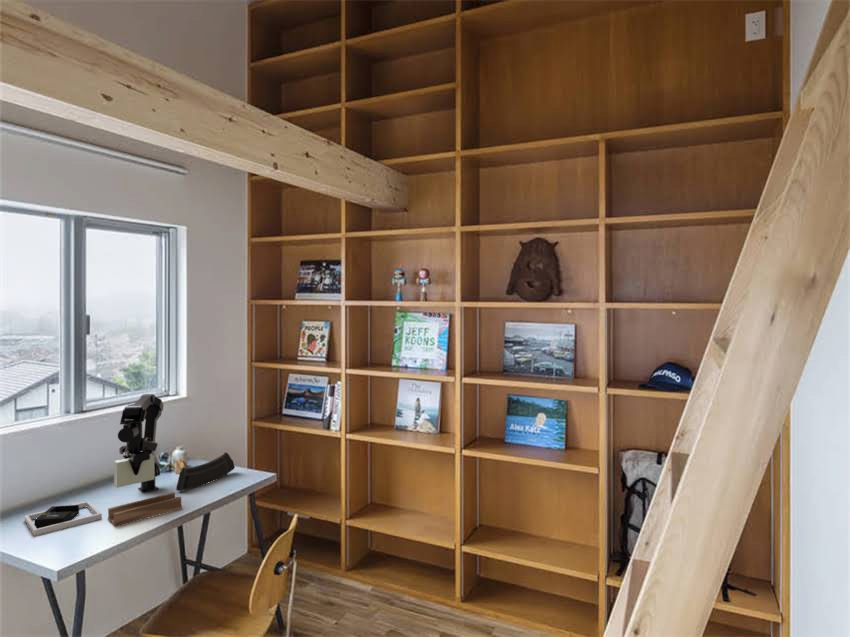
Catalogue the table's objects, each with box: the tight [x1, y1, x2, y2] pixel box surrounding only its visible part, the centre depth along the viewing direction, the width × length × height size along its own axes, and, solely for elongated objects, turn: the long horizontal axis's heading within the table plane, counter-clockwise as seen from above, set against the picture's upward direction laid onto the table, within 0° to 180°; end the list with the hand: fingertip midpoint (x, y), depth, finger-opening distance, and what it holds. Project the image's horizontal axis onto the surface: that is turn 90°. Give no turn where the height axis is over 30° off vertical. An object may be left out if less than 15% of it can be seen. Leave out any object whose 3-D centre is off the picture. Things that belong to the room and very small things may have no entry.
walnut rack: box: [107, 492, 183, 527], centre depth 205 cm, size 9×24×4 cm, turn 136°
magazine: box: [175, 451, 235, 492], centre depth 240 cm, size 17×3×30 cm
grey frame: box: [24, 500, 103, 537], centre depth 199 cm, size 18×21×2 cm
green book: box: [113, 454, 156, 488], centre depth 214 cm, size 4×14×10 cm, turn 136°
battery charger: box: [34, 504, 80, 529], centre depth 197 cm, size 13×10×4 cm
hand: (134, 473), depth 214 cm, fingers closed on green book, 3 cm apart
